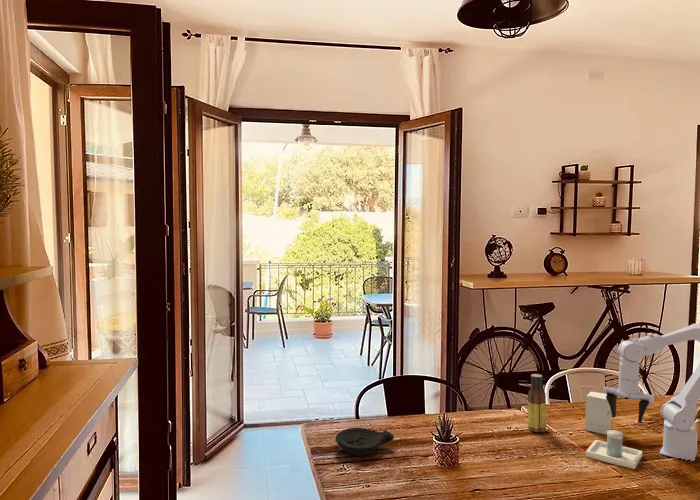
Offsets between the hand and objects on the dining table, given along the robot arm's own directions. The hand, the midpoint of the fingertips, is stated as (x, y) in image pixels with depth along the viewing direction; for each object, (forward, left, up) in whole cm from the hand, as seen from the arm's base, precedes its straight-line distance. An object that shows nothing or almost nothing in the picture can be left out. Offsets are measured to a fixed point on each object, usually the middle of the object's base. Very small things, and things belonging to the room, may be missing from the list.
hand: (626, 419), depth 176 cm
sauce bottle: (+29, +1, -11) cm, 31 cm away
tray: (+2, +7, -10) cm, 13 cm away
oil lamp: (+65, +55, -11) cm, 86 cm away
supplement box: (+12, -14, -11) cm, 21 cm away
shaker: (+2, +7, -10) cm, 12 cm away
